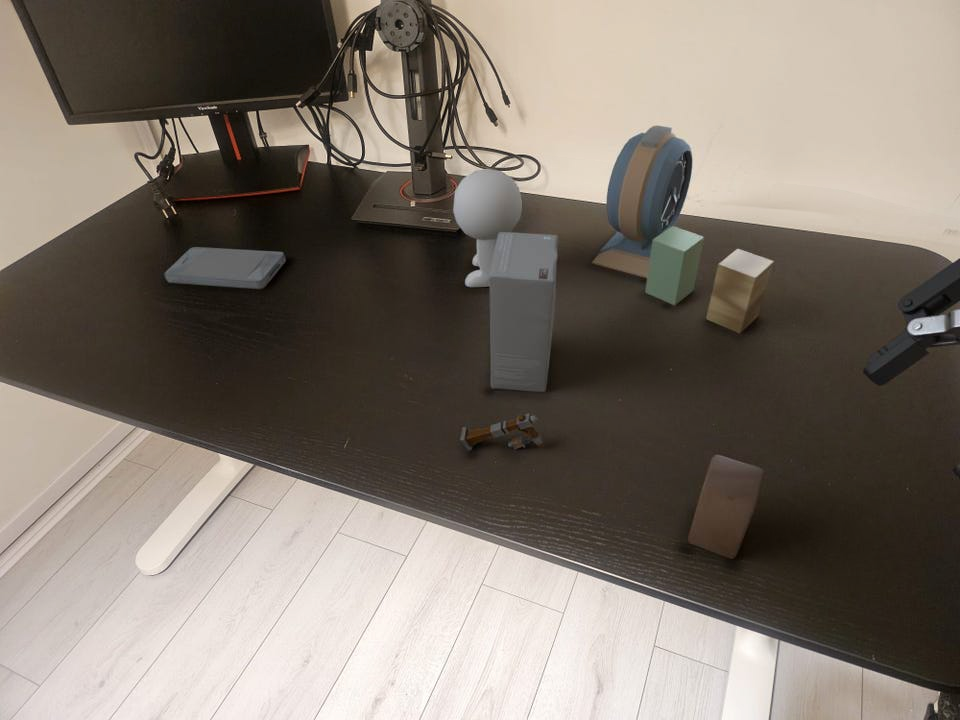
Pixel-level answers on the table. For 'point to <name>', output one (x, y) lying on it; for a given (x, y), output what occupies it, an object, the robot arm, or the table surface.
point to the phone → (226, 267)
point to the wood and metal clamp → (501, 428)
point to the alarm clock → (644, 197)
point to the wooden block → (725, 506)
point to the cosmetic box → (522, 310)
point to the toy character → (486, 215)
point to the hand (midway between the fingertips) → (912, 425)
